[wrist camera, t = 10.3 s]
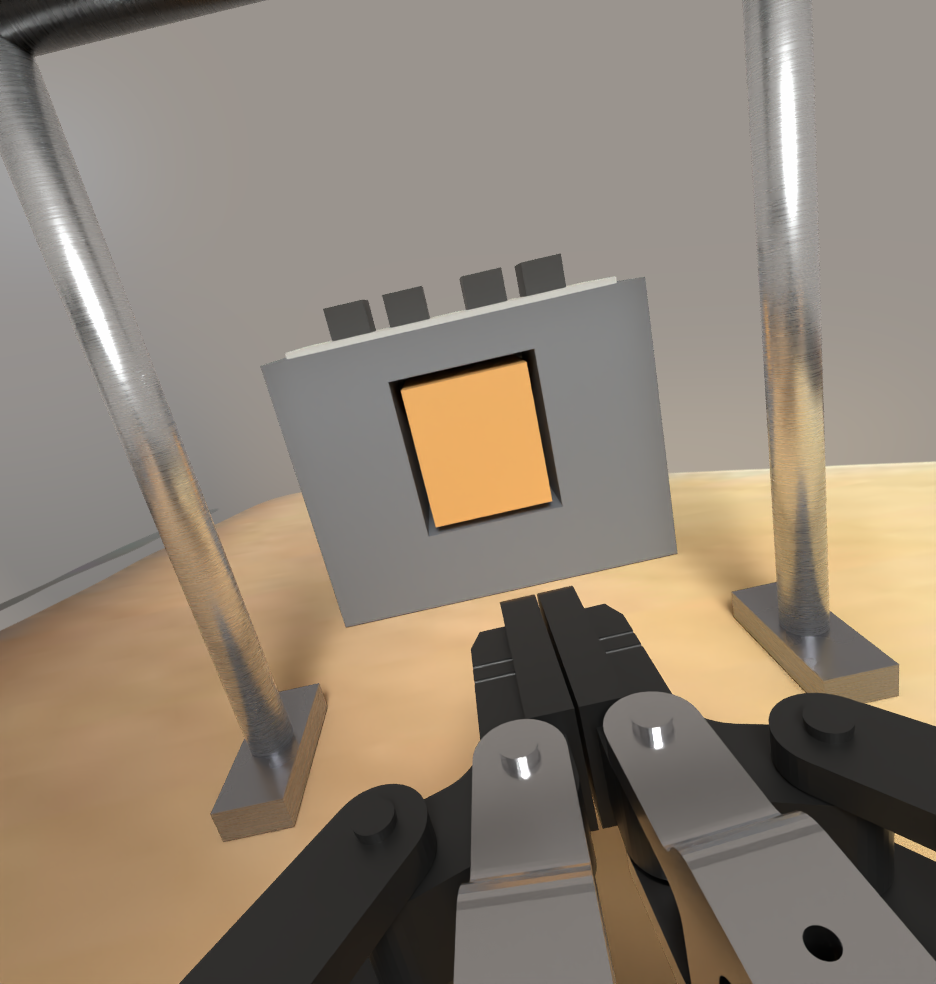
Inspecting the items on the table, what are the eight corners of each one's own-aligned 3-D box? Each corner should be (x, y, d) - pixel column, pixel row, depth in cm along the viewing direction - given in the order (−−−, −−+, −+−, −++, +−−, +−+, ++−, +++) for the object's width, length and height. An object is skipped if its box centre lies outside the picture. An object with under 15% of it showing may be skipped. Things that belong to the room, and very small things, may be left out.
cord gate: (223, 841, 19) (-218, -107, 11) (272, 718, 25) (2, 32, 17) (898, 695, 19) (915, -392, 11) (789, 604, 24) (750, -151, 17)
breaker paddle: (435, 527, 29) (400, 391, 27) (436, 496, 34) (406, 378, 32) (552, 501, 29) (526, 362, 27) (536, 474, 34) (513, 354, 32)
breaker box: (345, 627, 31) (246, 324, 26) (363, 564, 38) (289, 320, 34) (677, 553, 30) (639, 232, 26) (629, 504, 38) (593, 249, 33)
